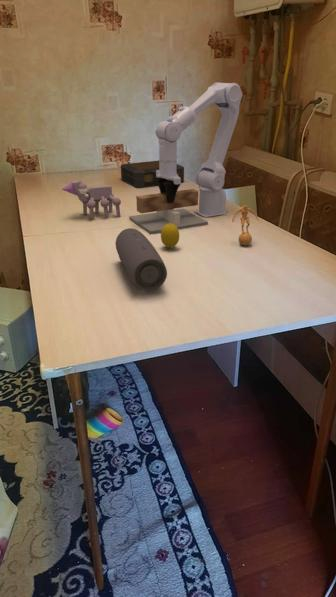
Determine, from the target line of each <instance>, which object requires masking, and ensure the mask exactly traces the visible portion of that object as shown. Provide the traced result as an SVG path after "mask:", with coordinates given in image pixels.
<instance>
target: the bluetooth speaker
mask: <svg viewBox="0 0 336 597" xmlns="http://www.w3.org/2000/svg"><path fill="white" fill-rule="evenodd" d="M115 249H116V252H117V255H118V259H119V260H120V262H121V266H122V267H123V268H124V271H125V272H126V273H127V275H128V276H129V278H130V279H131V281H132V282H133V284H134V285H135V286H136V287H137V288H138V289H140V290H141V291H145V292H148V291H150V292H151V291H154V290H155V291H156V290H158V289H159V288H160V287H162V285H164V283H165V282H166V280H167V277H168V272H167V267H166V265H165V263H164V260H163V259H162V257H161V256H160V254H159V252H158V251H157V249H156V247H154V245H153V244H152V242H151V241H150V240H149V239H148V237H147V236H145V234H143V233H142V232H141V231H140V230H138V229H137V228H131V227H130V228H125V229H123V230H121V232H120V233H119V234H117V237H116V239H115Z"/></svg>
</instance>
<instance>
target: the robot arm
mask: <svg viewBox="0 0 336 597" xmlns="http://www.w3.org/2000/svg"><path fill="white" fill-rule="evenodd" d="M243 95H244V94H243V92H242V89H241V87H240V85H239V84H238V83H236V82H219V81H218V82H217V81H216V82H214V83H213V84H212V85H210V86H208V87H207V90H206V91H205V92H203V94H202V95H201V96H199V97H198V98H197V99H196V100H195V101H194V102H193V103H192V104H191V105H190V106H186V105H185V106H180V107H179V108H178V111H177V112H175V113H174V114H173V115H170V116H168V117H167V120H164V121H163V120H162V121H160V122H159V124H158V125H157V127H156V130H155V136H156V138H157V140H158V146H159V150H158V152H159V153H158V155H159V156H158V157H159V158H158V159H159V160H158V161H159V170H156V177H158V178H159V179H156V182H157V184H158V186H157V187H158V188H159V193H166V195H167V202H168V203H174V200H175V196H176V192H177V191H179V188H180V186H181V185H182V183H181V178H180V177H179V176H178V175H177V173H176V171H177V164H178V163H177V162H178V161H177V159H178V158H177V156H178V155H177V154H178V153H177V150H178V140H179V139H180V137H181V135H182V132H184V130H186V129H188V127H189V126H191V125H192V124H193V123H194V122H195V120H196V116H199V114H200V113H202V112H203V111H204V110H207V109H208V108H209V107H210V106H211V105H215V106H216V107H217V109H218V110H219V111H220V114H221V116H220V120H219V123H218V126H217V129H216V133H215V136H214V138H213V142H212V146H211V148H210V152H209V155H208V158H207V160H206V161H205V162H203V163H202V164H201V167H200V168H199V170H198V171H197V173H196V176H195V182H196V184H197V185H198V189H199V193H198V209H196V210H194V211H193V212H194V213H196V214H198V215H200V216H202V217H204V218H209V217H216V216H221V215H227V212H226V208H227V207H226V205H227V193H226V191H225V190H224V189H223V187H224V185H225V178H226V177H225V176H226V173H227V172H226V169H225V167H224V165H223V164H224V161H225V158H226V154H227V152H228V148H229V146H230V143H231V139H232V137H233V134H234V130H235V127H236V125H237V120H238V118H239V115H240V114H239V113H240V104H241V101H242V97H243Z"/></svg>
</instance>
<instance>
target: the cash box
mask: <svg viewBox="0 0 336 597" xmlns="http://www.w3.org/2000/svg"><path fill="white" fill-rule="evenodd" d="M156 170H159V160H150V161H141V162H132V163H131V162H130V163H123V164H121V165H120V179H121V181H123V182H124V183H126V184H128V185H130V186H133V187H134V188H136V189H143V188H151V187H159V186H158V184H157V182H156V179H159V178H158V177H156ZM176 173H177V175H178V176H179V177H180V178H181V184H183V183H184V182H185V167H184V166H183V165H180V164H178V163H177V171H176Z"/></svg>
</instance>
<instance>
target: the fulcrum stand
mask: <svg viewBox="0 0 336 597" xmlns="http://www.w3.org/2000/svg"><path fill="white" fill-rule="evenodd" d="M128 218H129V219H128V220H130V221H132V222H133V224H135V225H137V226H138V227H140V228H141V229H142V230H144V231H145V232H147V233H148V234H150V235H154V234H159V233H160V234H161V231H162V228H163V227H164V226H165V225H166V224H169V223H172V224H174V225H175V226H176V227H177V228H178V230H184V229H189V228H196V227H201V226H207V225H209V221H208V220H205V219H204V218H202V217H200V216H198V215H196V214H194V213H192V212H190V210H189V211H188V210H187V209H185V208H175V209H169V210H162V211H155V212H148V213H141V214H138V215H137V214H136V215H130V216H128Z"/></svg>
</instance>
